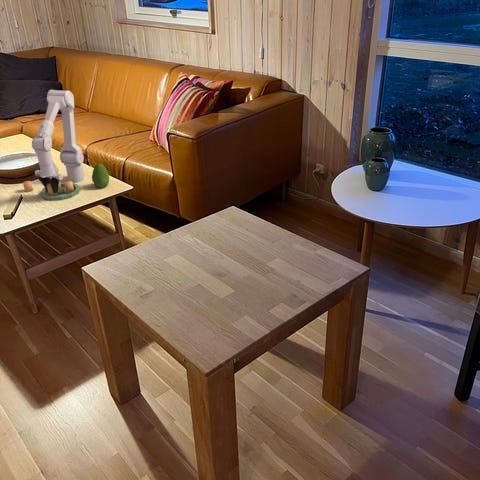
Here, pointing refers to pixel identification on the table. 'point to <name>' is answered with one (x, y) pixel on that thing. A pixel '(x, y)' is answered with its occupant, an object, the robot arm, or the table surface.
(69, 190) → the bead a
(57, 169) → the flask
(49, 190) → the pale orange egg
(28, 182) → the brown egg
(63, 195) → the tray
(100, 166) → the avocado
